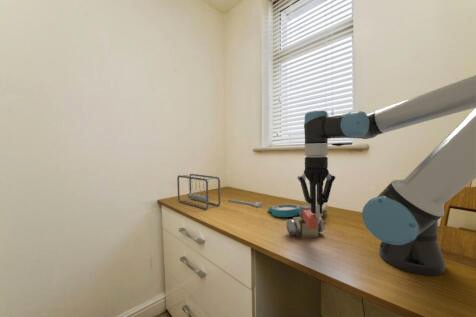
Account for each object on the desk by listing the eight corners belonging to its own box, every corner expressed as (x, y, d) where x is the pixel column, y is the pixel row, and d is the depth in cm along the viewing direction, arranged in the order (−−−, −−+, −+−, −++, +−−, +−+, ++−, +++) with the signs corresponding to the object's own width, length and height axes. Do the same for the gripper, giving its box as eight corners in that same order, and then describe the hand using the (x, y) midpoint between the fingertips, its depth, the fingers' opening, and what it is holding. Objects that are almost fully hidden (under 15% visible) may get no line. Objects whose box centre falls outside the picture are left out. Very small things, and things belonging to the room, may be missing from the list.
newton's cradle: (177, 201, 135) (176, 175, 134) (190, 198, 142) (190, 173, 142) (207, 210, 115) (206, 179, 114) (220, 206, 123) (220, 177, 122)
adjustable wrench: (227, 202, 134) (227, 199, 134) (233, 200, 139) (233, 197, 139) (259, 208, 118) (259, 205, 118) (265, 206, 123) (265, 203, 123)
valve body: (314, 229, 87) (315, 213, 86) (325, 235, 80) (325, 218, 80) (285, 232, 84) (285, 216, 83) (294, 239, 77) (294, 222, 77)
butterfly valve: (257, 223, 102) (319, 230, 84) (255, 209, 102) (317, 213, 84) (280, 210, 123) (334, 213, 105) (279, 198, 123) (332, 200, 105)
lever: (298, 215, 84) (298, 205, 84) (309, 215, 83) (309, 205, 83) (306, 228, 70) (306, 217, 70) (319, 229, 69) (319, 217, 69)
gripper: (329, 155, 75) (329, 217, 77) (294, 156, 75) (295, 219, 77) (339, 156, 68) (339, 225, 69) (301, 157, 68) (302, 226, 69)
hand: (316, 222), depth 73 cm, fingers closed
